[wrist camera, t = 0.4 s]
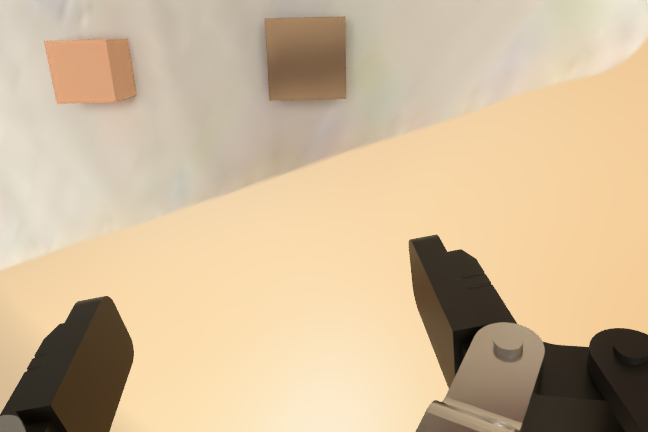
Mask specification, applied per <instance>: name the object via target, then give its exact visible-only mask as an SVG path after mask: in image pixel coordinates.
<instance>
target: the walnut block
mask: <svg viewBox="0 0 648 432" xmlns="http://www.w3.org/2000/svg"><path fill="white" fill-rule="evenodd" d="M265 30H266V47H267V64H268V81H269V98H270V101H271V100H314V99H346V52H345V17H312V18H271V19H265Z"/></svg>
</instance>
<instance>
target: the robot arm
mask: <svg viewBox="0 0 648 432" xmlns="http://www.w3.org/2000/svg"><path fill="white" fill-rule="evenodd" d="M409 252H410V263H411V273H412V283H413V291H414V296H415V301H416V304H417V308H418V310H419V313H420V316H421V318H422V321H423V323H424V326H425V328H426V331H427V334H428V336H429V338H430V341H431V344H432V346H433V349H434V351H435V354H436V357H437V359H438V362H439V364H440V367H441V369H442V372H443V375H444V377H445V379H446V382H447V385H448V387H449V391H448V393H447V395H446V397H445V399H444V400H443V401H442V402H439V401H433V402H432V403H431V404H430V405H429V407H428V409H427V410H426V412H425V415H424V416H423V418H422V420H421V422H420V424H419V426H418V428H417V430H416V432H648V335H647V334H645V333H642V332H639V331H635V330H631V329H624V328H623V329H622V328H615V329H608V330H604V331H601V332H599V333H597V334H596V335H595V336H594V337H593V338H592V340H591V341H590V345H589V347H577V346H562V345H554V344H549V343H546V342H542V340H541V339H540V338H539V336H538V335H537V334H536V333H535V332H533V331H532V330H530V329H528V328H526V327H524V326H521V325H519V324H517V323H516V321H515V320H514V318H513V317H512V315H511V313H510V312H509V310H508V309H507V307H506V305H505V304H504V302H503V301H502V299H501V298H500V296H499V294H498V293H497V291H496V290H495V289H494V287H493V285H491V282H490V281H489V279H488V277H487V276H486V275H485V274H484V271H483V269H482V268H481V266H480V265H479V263H478V261H477V260H476V259H475V258H474V257H472V256H471V255H469V254H467V253H466V252H464V251H463V250H455V251H450V252H447V250H446V249H445V247H444V245H443V243H442V242H441V240H440V238H439V236H438V235H432V236H427V237H422V238H416V239H411V240H409ZM133 356H134V350H133V344H132V340H131V338H130V335H129V333H128V331H127V329H126V327H125V325H124V323H123V321H122V319H121V317H120V315H119V312H118V310H117V308H116V306H115V304H114V303H113V300H112V299H111V298H110V297H108V296H104V297H99V298H94V299H88V300H83V301H78V302H77V303H76V304H75V305H74V307H73V309H72V310H71V312H70V314H69V316H68V318H67V320H66V321H65V323H63V324H59V325H58V326H57V327H56V328H55V329H54V330H53V331H52V332H51V333H50V334H49V335H48V336H47V337H46V338H45V339H44V340H43V342H42V344H41V345H40V347H39V349H38V350H37V352H36V354H35V358H33V359H32V361H31V362H30V364H29V366H28V368H27V372H25V373H24V375H23V376H22V378H21V380H20V381H19V383H18V385H17V387H16V388H15V390H14V392H13V394H12V395H11V397H10V399H9V401H8V402H7V404H6V406H5V407H4V409H3V411H2V413H1V414H0V432H109V431H110V428H111V424H112V422H113V419H114V416H115V412H116V410H117V407H118V404H119V401H120V398H121V395H122V392H123V389H124V386H125V383H126V381H127V377H128V374H129V372H130V369H131V366H132V363H133Z"/></svg>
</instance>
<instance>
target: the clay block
mask: <svg viewBox="0 0 648 432" xmlns="http://www.w3.org/2000/svg"><path fill="white" fill-rule="evenodd" d="M44 43H45V48H46V53H47V58H48V63H49V67H50V72H51V77H52V82H53V87H54V91H55V96H56V101H57V104H66V103H109V102H118V101H121V100H124V99H127V98H130V97H132V96H135V95H136V90H135V83H134V77H133V70H132V64H131V57H130V50H129V44H128V39H88V40H58V41H44Z"/></svg>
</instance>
